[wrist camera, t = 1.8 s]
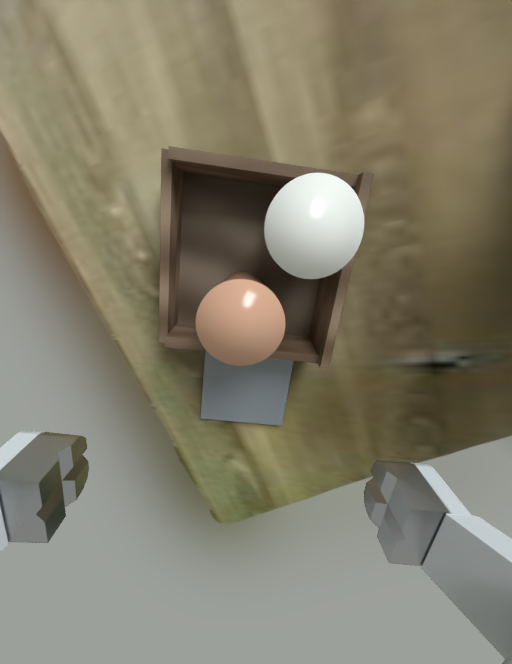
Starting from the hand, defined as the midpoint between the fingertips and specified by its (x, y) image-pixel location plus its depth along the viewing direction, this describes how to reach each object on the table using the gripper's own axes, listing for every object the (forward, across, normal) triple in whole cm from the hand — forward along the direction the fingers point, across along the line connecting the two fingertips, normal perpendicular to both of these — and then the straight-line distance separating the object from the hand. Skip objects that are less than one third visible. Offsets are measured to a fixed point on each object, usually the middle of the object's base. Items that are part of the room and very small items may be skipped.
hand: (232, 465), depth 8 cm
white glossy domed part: (+23, -4, -7) cm, 24 cm away
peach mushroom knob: (+23, 0, 0) cm, 23 cm away
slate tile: (+23, -1, +10) cm, 26 cm away
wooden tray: (+23, 0, -4) cm, 24 cm away
